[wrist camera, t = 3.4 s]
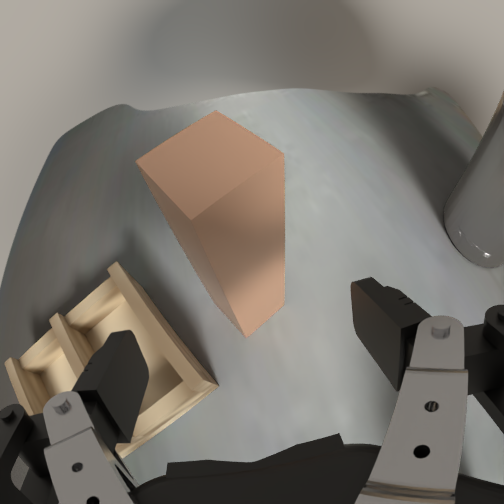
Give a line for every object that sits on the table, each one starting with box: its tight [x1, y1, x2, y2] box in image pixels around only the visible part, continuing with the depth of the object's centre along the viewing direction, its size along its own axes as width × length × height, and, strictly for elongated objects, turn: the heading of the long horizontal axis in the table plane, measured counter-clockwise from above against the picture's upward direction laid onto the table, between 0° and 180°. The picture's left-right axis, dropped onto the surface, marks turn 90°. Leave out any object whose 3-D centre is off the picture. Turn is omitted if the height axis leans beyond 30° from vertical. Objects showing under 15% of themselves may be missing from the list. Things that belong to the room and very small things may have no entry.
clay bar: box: [135, 111, 285, 338], centre depth 18 cm, size 4×4×16 cm
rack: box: [5, 261, 219, 458], centre depth 20 cm, size 14×11×5 cm
